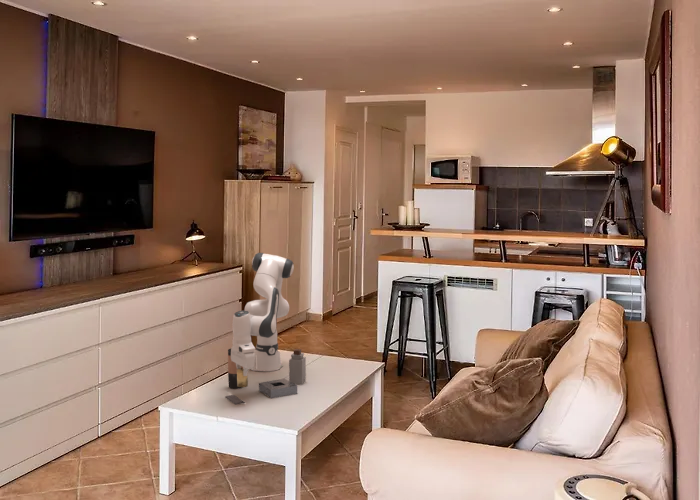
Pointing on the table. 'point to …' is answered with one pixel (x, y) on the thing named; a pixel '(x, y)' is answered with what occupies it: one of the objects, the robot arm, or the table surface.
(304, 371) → the grey square bottle
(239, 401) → the mat
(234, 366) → the travel mug
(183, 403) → the table surface
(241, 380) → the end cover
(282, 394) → the housing
